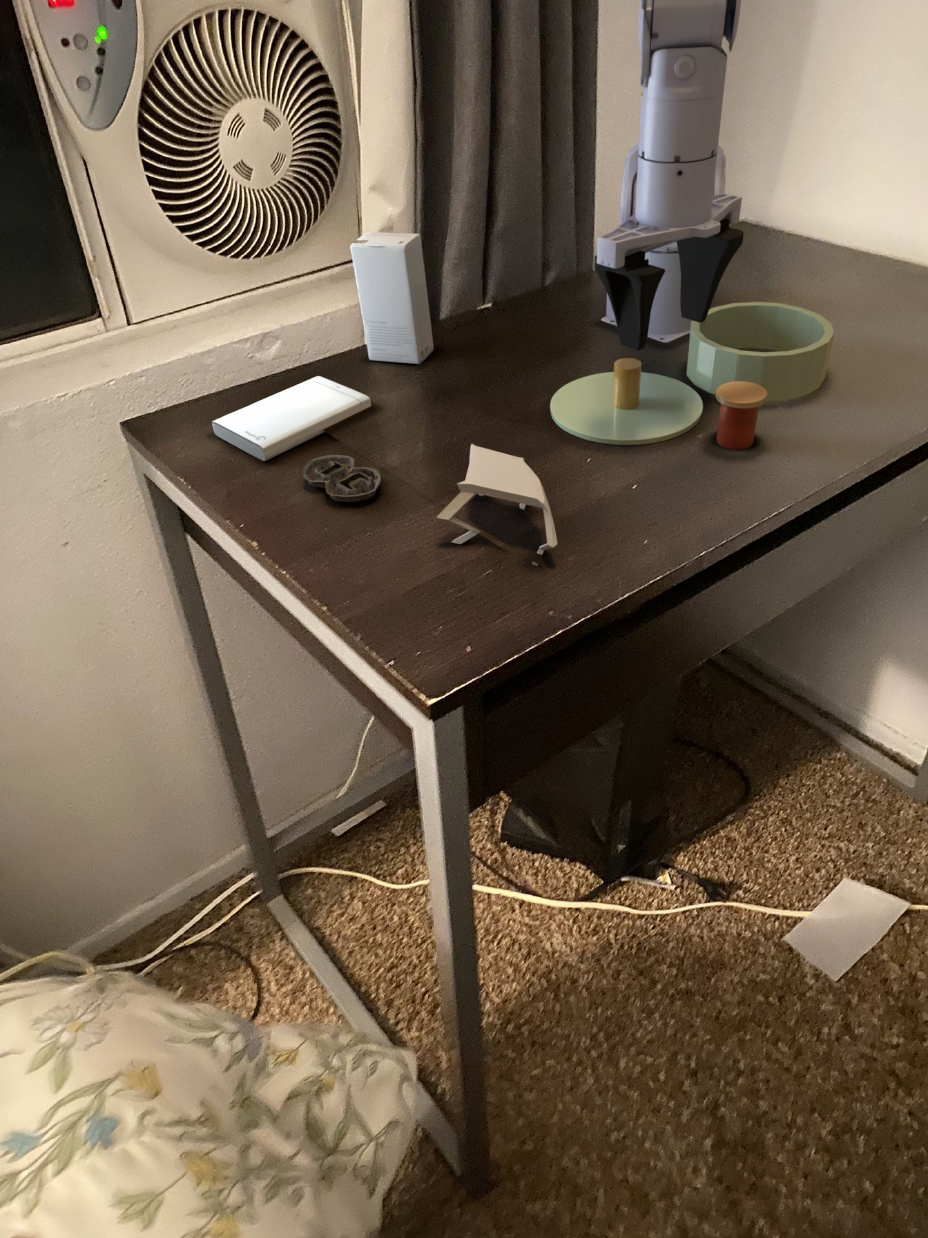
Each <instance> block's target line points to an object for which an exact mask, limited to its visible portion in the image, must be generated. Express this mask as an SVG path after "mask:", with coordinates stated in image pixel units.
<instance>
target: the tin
mask: <svg viewBox="0 0 928 1238" xmlns="http://www.w3.org/2000/svg"><path fill="white" fill-rule="evenodd" d="M834 337H835V330H834V327H833V324H832V322H831V321H829V320H828V319H827V318H825V317H824V316H823V315H821V314H819V313H817V312H814V311H811V310H809V309H806V308H804V307H801V306H795V305H792V304H791V305H790V304H785V303H780V302H765V301H750V302H734V303H728V304H722V305H719V306H714V307H710V309H709V312H708V314H707V317H706V319H705V321H704V322H701V323H699V322H696V321H692V322H691V325H690V333H689V338H688V347H687V355H686V357H687V358H686V377H687V378H688V379H689V380H690V381H691V383H692V384H693V385H694V386H695V387H697V388H700V389H701V390H702V391H704V392H707V393H708V394H711V395H715V396H716V390H717V388H718V387H719V386H721V385H722V384H725V383H728V382H735V381H743V382H751V383H755V384H758V385H760V386H762V387H763V388H765V389H766V391H767V399H766V401H765V403H766V402H767V403H768V402H784V401H789V400H792V399H797V398H801V397H805V396H807V395H809V394H810V393H813V392H814V391H816V390H818V389H819V388H820V387H821V386H822V384H823V383H824V381H825V380H826V377H827V371H828V366H829V363H830V361H829V360H830V356H831V352H832V347H833V342H834ZM742 349H761V350H773V351H765V352H764V351H763V352H762V351H752V350H742Z"/></svg>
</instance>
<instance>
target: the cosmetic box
mask: <svg viewBox="0 0 928 1238" xmlns="http://www.w3.org/2000/svg"><path fill="white" fill-rule="evenodd" d="M349 248H350V254H351V260H352V265H353V272H354V277H355V283H356V288H357V295H358V300H359V306H360V313H361V319H362V325H363V329H364V336H365V343H366V348H367V349H366V350H367V354H368V359H369V360H370V361H376V362H377V361H378V362H388V363H389V362H390V363H399V364H400V363H401V364H412V365H421V364H422V363H423V362H424V361H425V360H426V359H427V358H428V357H429V356H430V355H431V354H432V353H433V351H434V348H435V347H434V346H435V345H434V339H433V333H432V332H433V330H432V322H431V321H432V320H431V314H430V305H429V296H428V287H427V279H426V278H427V277H426V271H425V261H424V255H423V244H422V235H421V234H420V233H408V232H407V233H405V232H380V231H379V232H377V231H376V232H375V231H366V232H365V233H363V234H362V235H361V236H359V237H358V238H357V239H356V240H354V241H353V242H352V243H351V244H350V246H349Z"/></svg>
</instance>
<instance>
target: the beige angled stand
mask: <svg viewBox="0 0 928 1238" xmlns="http://www.w3.org/2000/svg"><path fill="white" fill-rule="evenodd" d="M456 486H457V487H458V489H459V491H460V492H459V493H458V494H457V495H456V496H455V497H454V498H453V500H451V502H449V503H448V504H447V505H446V506H445V508H444V509H442V510H441V511H440V512H439V514H438V515H436V517H435V518H436V519H439V520H441V521H444V522H446V523H449V524H451V525H454V526H456V527H459V528H462V529H464V530H467V532H466V533H464V534H462V535H460V536H458V537H456V538H455V539H453V540H451V543H453V544H457V545H461V544H464V543H465V542H467V541H468V540H471V539H472V538H473V537H476V536H477V535H478V534H479V533H480V532H481V530H479V529H478V528H476V527H474V526H472V525H470V524H468V523H467V522H465V521H463V520H461V519H459V518H457V517H455V516H456V515H458V513H459V512H461V510H462V509H463V508H464V507H466V505H467V504H468V503H469V502H470V501H471V500H473V499H474V498H475V496H477V495H478V496H479V497H484V496H488V497H491V498H496V499H500V500H503V501H509V502H513V503H514V502H515V503H516V504H517V503H518V504H519V509H520V510H522V511H526V510H525V509H526V506H532V507H536V508H540V509H542V511H543V519H544V526H545V535H546V543H545V544H542V545H540V546H539V547H538V550H537V552H536V554H538V555H541V556H543V554H544V553H545V551H546V550H547V551H548V550H550V549H553V548H555V547H557V545H558V539H557V533H556V526H555V522H554V519H553V515H552V510H551V508H550V507H551V506H550V504H549V501H548V497H547V495H546V492H545V488H544V486H543V484H542V482H541V480H540V478H539V477H538V476H537V474H536V473H535V472H534V471H533V469H532V468H531V467H529V465H528V464H527V463H526V462H525V458H524V457H521V456H520V457H519V456H515V455H511V454H507V453H504V452H500V451H496V450H493V449H490V448H485V447H481V446H477V445H475V444H474V443H471V444H470V449H469V463H468V468H467V471H466V476H465V479H464V480H463V481H460V482H457V483H456ZM531 564H532V565H534V566H536V567H537V566H539V563H538V562H536V561H534V560H532V562H531Z"/></svg>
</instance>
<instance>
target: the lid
mask: <svg viewBox="0 0 928 1238" xmlns="http://www.w3.org/2000/svg"><path fill="white" fill-rule="evenodd" d="M642 365H643V364H642V361H641V360H640V359H638V358H633V357H622V358H619V359H616V360H615V361H614V362H613V371H607V372H600V373H595V374H590V375H587V376H583V377H580V378H577V379H575V380H572V381H570V382H568V383H566V384H564V385H563V386H562V387H560V388H559V389H558V390H557V391H556V392H555V393H554V394H553V395H552V397H551V399H550V403H549V413H550V416H551V419H552V420H553V421H554V423H555V424H556V425H557V427H559V428H560V429H562V430H563V431H565V432H566V433H568V434H570V435H572V436H574V437H577V438H579V439H582V440H586V441H590V442H595V443H598V444H606V445H615V446H638V445H639V446H640V445H649V444H656V443H661V442H664V441H668V440H671V439H674V438H677V437H679V436H681V435H684V434H686V433H687V432H689V431H690V430H692V429H693V428H695V426H697V424H698V423H699V422H700V421H701V418H702V416H703V411H704V402H703V400H702V397H701V396H700V395H699V393H698V392H697V391H696V390H695V389H694V388H692V387H691V386H689V385H687V384H686V383H684V382H682V381H680V380H678V379H675V378H673V377H670V376H665V375H662V374H658V373H652V372H644V371H642Z"/></svg>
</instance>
